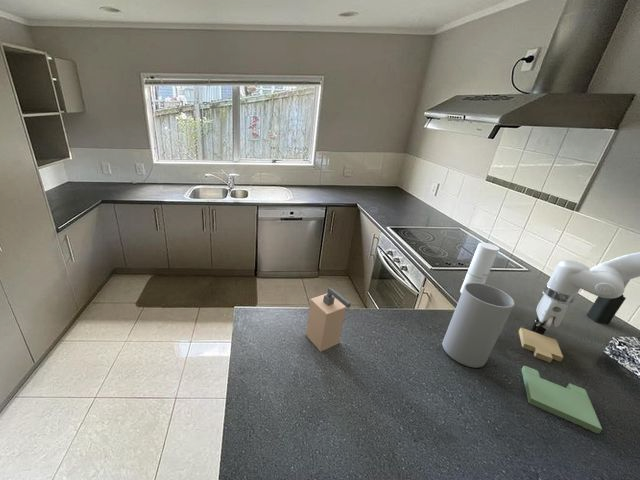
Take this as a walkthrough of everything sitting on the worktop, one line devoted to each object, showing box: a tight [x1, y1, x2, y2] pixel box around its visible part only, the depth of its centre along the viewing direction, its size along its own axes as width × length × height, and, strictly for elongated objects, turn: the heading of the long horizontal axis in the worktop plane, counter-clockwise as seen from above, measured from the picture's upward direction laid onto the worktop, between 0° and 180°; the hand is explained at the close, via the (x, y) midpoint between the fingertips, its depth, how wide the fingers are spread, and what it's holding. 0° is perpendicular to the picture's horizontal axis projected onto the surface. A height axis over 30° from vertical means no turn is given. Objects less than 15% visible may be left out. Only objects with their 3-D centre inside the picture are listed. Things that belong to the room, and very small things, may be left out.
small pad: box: [518, 327, 564, 363], centre depth 100 cm, size 10×13×2 cm
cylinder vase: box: [442, 283, 516, 368], centre depth 92 cm, size 12×12×25 cm
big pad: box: [521, 365, 603, 435], centre depth 82 cm, size 14×14×2 cm
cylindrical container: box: [459, 241, 500, 295], centre depth 124 cm, size 7×7×25 cm
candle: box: [586, 279, 631, 325], centre depth 111 cm, size 5×5×25 cm
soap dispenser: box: [305, 287, 352, 353], centre depth 94 cm, size 13×9×22 cm
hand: (536, 333), depth 106 cm, fingers closed
